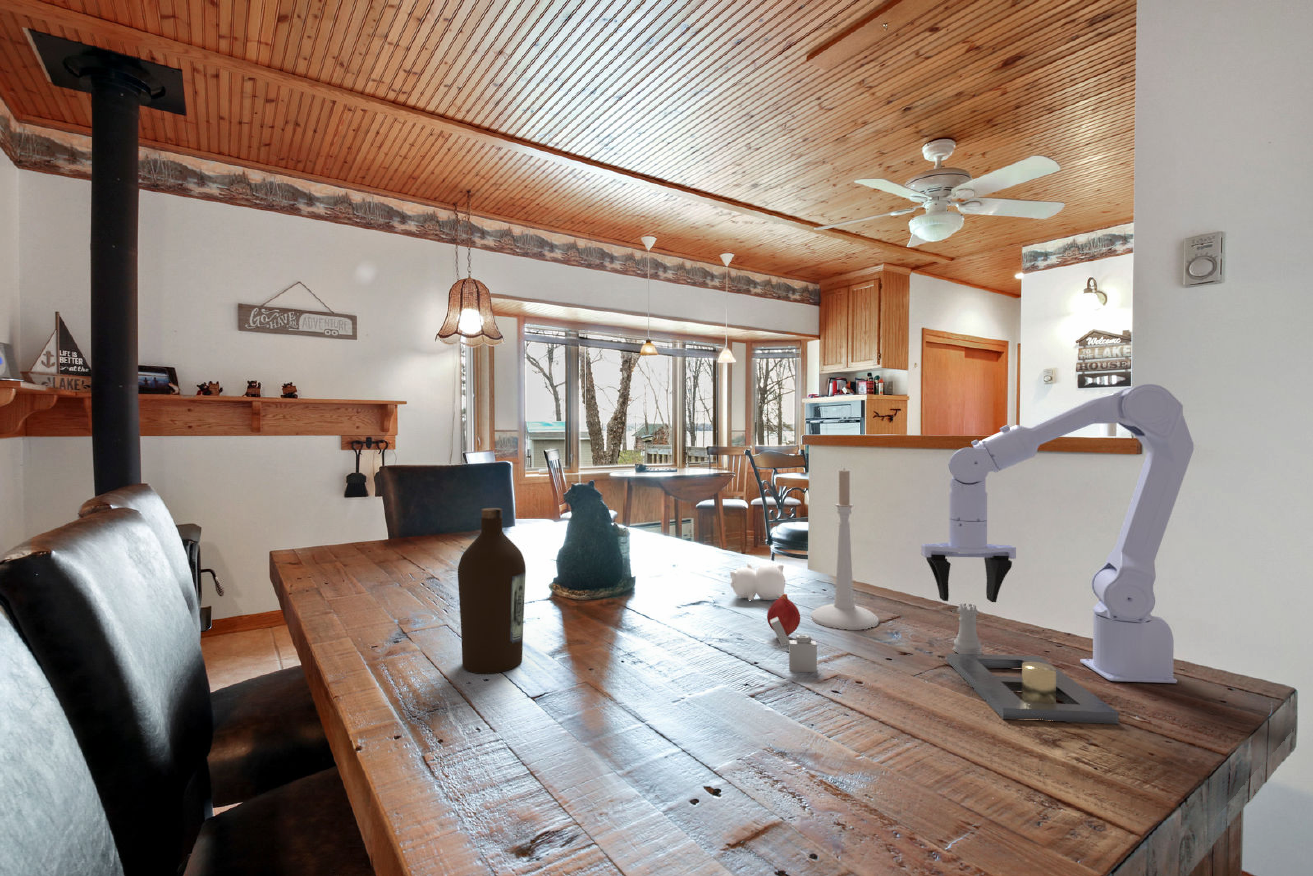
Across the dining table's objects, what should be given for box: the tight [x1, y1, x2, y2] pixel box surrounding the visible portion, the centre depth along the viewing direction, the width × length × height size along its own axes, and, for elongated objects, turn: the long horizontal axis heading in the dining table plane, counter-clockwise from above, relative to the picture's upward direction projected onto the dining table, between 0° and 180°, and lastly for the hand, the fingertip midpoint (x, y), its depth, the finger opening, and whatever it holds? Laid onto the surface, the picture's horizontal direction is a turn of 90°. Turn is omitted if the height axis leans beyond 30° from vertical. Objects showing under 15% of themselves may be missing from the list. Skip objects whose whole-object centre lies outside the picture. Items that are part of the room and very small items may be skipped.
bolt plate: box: [946, 652, 1120, 725], centre depth 90 cm, size 14×20×5 cm
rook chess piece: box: [952, 602, 984, 654], centre depth 105 cm, size 4×4×8 cm
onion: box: [766, 593, 801, 638], centre depth 113 cm, size 6×6×8 cm
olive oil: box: [457, 507, 527, 675], centre depth 101 cm, size 11×11×25 cm
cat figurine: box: [730, 563, 786, 601], centre depth 140 cm, size 9×11×12 cm
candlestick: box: [810, 468, 880, 631], centre depth 124 cm, size 13×13×30 cm
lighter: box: [770, 617, 818, 673], centre depth 99 cm, size 7×2×8 cm, turn 84°
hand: (967, 600), depth 105 cm, fingers open, 7 cm apart
